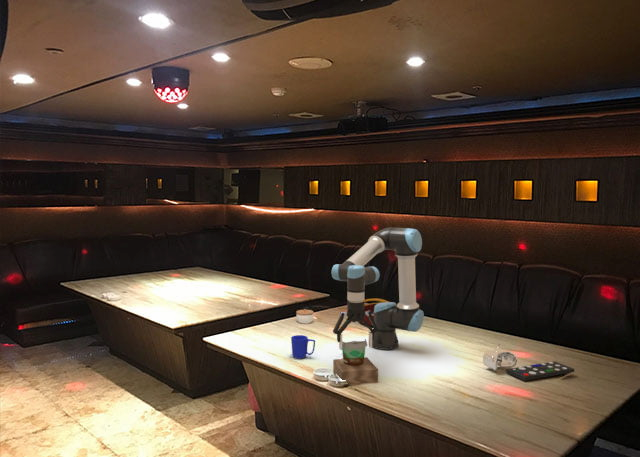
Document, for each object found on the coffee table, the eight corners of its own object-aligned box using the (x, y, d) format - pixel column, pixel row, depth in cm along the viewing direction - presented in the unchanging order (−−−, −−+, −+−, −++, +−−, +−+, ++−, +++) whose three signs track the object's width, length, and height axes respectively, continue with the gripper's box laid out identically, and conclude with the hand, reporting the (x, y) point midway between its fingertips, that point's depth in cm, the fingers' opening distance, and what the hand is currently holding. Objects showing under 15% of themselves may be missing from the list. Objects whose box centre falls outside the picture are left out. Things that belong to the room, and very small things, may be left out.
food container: (344, 367, 217) (344, 344, 216) (340, 362, 223) (340, 340, 222) (371, 365, 220) (371, 342, 219) (366, 360, 226) (366, 338, 225)
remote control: (506, 372, 231) (506, 368, 231) (554, 364, 242) (554, 360, 242) (524, 380, 220) (524, 376, 220) (574, 371, 232) (574, 367, 232)
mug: (313, 360, 243) (313, 340, 242) (289, 359, 245) (289, 339, 245) (316, 355, 251) (316, 336, 250) (293, 353, 253) (293, 334, 253)
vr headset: (494, 374, 229) (496, 351, 227) (480, 366, 236) (482, 343, 235) (516, 368, 235) (518, 346, 233) (502, 361, 242) (504, 339, 241)
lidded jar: (294, 322, 316) (294, 307, 315) (310, 321, 319) (310, 306, 318) (298, 326, 305) (298, 311, 305) (315, 325, 309) (315, 310, 308)
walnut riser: (366, 370, 231) (367, 357, 230) (377, 382, 215) (378, 369, 215) (333, 372, 228) (333, 359, 227) (341, 385, 212) (342, 371, 212)
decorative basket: (412, 322, 319) (413, 299, 318) (387, 331, 296) (388, 306, 295) (368, 313, 340) (369, 292, 339) (342, 321, 318) (343, 298, 317)
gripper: (380, 297, 225) (379, 343, 227) (326, 300, 220) (326, 347, 222) (385, 301, 218) (385, 348, 220) (330, 304, 213) (330, 352, 215)
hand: (355, 348), depth 221 cm, fingers open, 13 cm apart
